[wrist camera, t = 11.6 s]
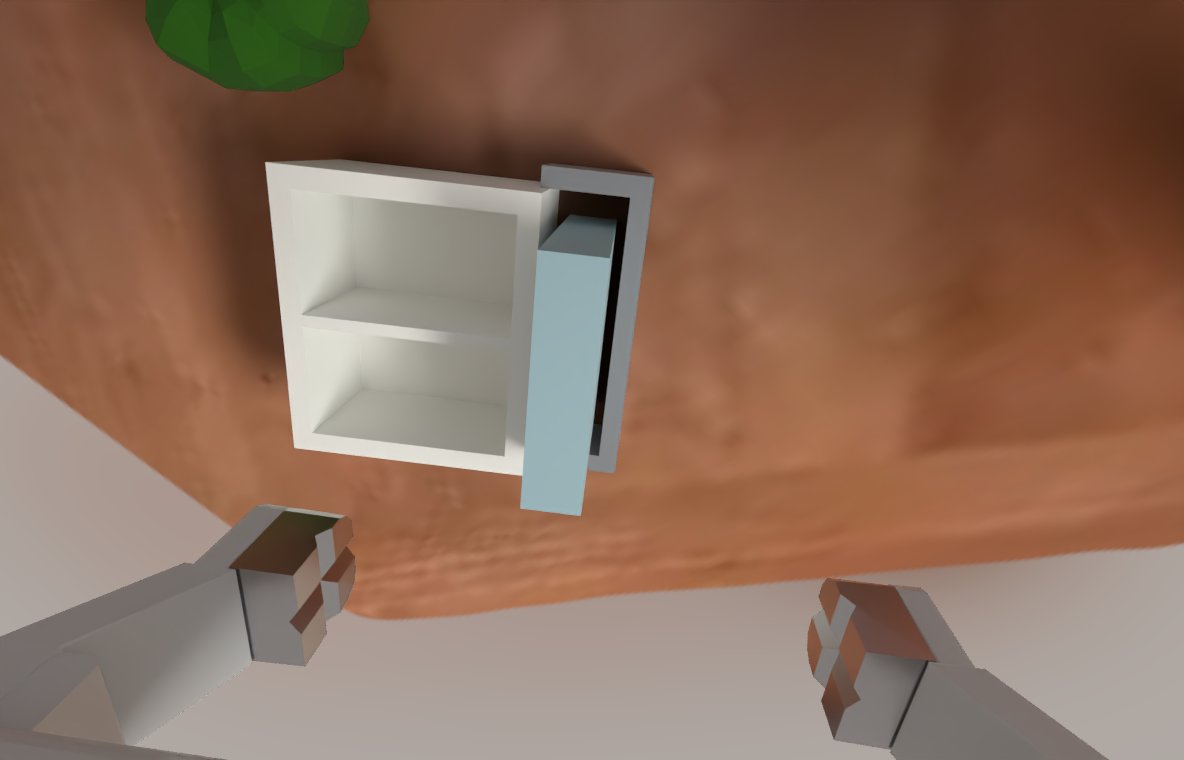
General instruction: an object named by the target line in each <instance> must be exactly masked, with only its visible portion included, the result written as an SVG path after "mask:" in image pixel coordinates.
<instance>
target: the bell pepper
mask: <svg viewBox="0 0 1184 760" xmlns="http://www.w3.org/2000/svg"><path fill="white" fill-rule="evenodd" d="M369 20H370V18H369V11H368V4H367V0H146V22H147V24H148V26H149V28H150V31H151V33H152V35H153V37H154V39H155V42H156V44H157V46H158V47H159V48H161V49H162V50H163V51H164V52H165V53H166V54H167V55H168V56H169V57H170V58H171V59H172V60H174V61H176V62H178V63H180V64H182V65H183V66H185V67H187V68H189V69H191V70H193V71H195V72H197V73H199V74H200V75H202V76H204V77H206V78H208V79H210V80H212V81H214V82H215V83H217V84H219V85H221V86H223V87H225V88H228V89H237V90H247V91H292V90H296V89H299V88H303V87H306V86H310V85H312V84H314V83H317V82H319V81H321V80H323V79H325V78H327V77H329V76H331V75H333V74H335V73H337V72H339V71H341V70H343V64H344V58H343V50H345V49H349V48H352V47H355V46H357V44H358V42H359V40H360V38H361V36H362V34H363V32H364V30H365V28H366V26H367V24H368V22H369Z"/></svg>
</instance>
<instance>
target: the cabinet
mask: <svg viewBox="0 0 1184 760" xmlns="http://www.w3.org/2000/svg"><path fill="white" fill-rule="evenodd" d="M265 165H266V175H267V185H268V194H269V204H270V214H271V224H272V233H273V243H274V253H275V262H276V272H277V282H278V292H279V301H280V311H281V321H282V331H283V340H284V350H285V360H286V370H287V379H288V389H289V399H290V409H291V418H292V428H293V438H294V448H300V449H308V450H316V451H324V452H333V453H341V454H349V455H357V456H365V457H373V458H382V459H390V460H398V461H406V462H414V463H423V464H431V465H439V466H447V467H455V468H464V469H472V470H480V471H488V472H496V473H505V474H513V475H521V476H523V461H524V446H525V431H526V416H527V401H528V386H529V371H530V355H531V340H532V325H533V310H534V295H535V280H536V265H537V250H538V249H539V248H540V247H541V246H542V245H543V243H544V242H545V241H546V240H547V239H548V238H549V237H550V236H551V235H552V234H553V233H554V231H555V230H556V229H557V220H558V207H559V194H560V190H567V191H576V192H585V193H594V194H603V195H612V196H621V197H630V200H629V208H628V217H627V225H626V233H625V241H624V250H623V258H622V266H621V274H620V282H619V291H618V299H617V307H616V315H615V324H614V332H613V340H612V348H611V357H610V365H609V373H608V381H607V390H606V398H605V406H604V414H603V423H602V425H601V424H593V429H592V437H591V444H590V451H589V459H588V466H587V470H590V471H598V472H606V473H615V467H616V459H617V452H618V444H619V437H620V430H621V422H622V415H623V407H624V400H625V393H626V385H627V378H628V370H629V363H630V356H631V348H632V341H633V333H634V326H635V319H636V311H637V304H638V296H639V289H640V281H641V274H642V267H643V259H644V252H645V244H646V237H647V230H648V222H649V215H650V207H651V200H652V193H653V185H654V176H653V175H652V174H646V173H637V172H628V171H619V170H610V169H601V168H592V167H583V166H574V165H565V164H556V163H550V164H545V165H542V169H541V182H539V181H530V180H522V179H513V178H504V177H495V176H486V175H477V174H468V173H459V172H450V171H441V170H432V169H423V168H414V167H405V166H396V165H388V164H379V163H370V162H361V161H352V160H343V159H334V160H308V161H282V162H265Z"/></svg>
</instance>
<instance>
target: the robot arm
mask: <svg viewBox="0 0 1184 760" xmlns="http://www.w3.org/2000/svg"><path fill="white" fill-rule="evenodd" d="M352 537H353V528H352V520H351V519H350V518H348V517H347V516H345V515H338V514H332V513H325V512H319V511H312V510H305V509H299V508H289V507H283V506H276V505H269V504H262V505H259V506H256V507H254V508H253V509H252V510H251V511H250V512H249V513H248V514H247V515H246V516H245V517H244V518H243V519H241V520H240V521H239V522H238V523H237V524H236V525H235V526H234V527H233V528H232V529H231V530H230V531H229V532H228V533H226V534H225V535H224V536H223V537H222V538H221V539H220V540H219V541H218V542H217V543H216V544H215V545H213V546H212V547H211V548H210V549H209V550H208V551H207V552H206V553H205V554H204V555H203V556H202V557H201V558H199V559H198V560H197V561H196V562H195V563H194V564H191V563H183V564H180V565H178V566H175V567H173V568H170V569H168V570H165V571H163V572H160V573H158V574H155V575H153V576H150V577H148V578H145V579H143V580H140V581H138V582H135V583H133V584H130V585H128V586H125V587H123V588H120V589H118V590H115V591H113V592H110V593H108V594H105V595H103V596H100V597H98V598H96V599H93V600H90V601H88V602H85V603H83V604H80V605H78V606H76V607H73V608H71V609H68V610H66V611H63V612H61V613H58V614H55V615H53V616H51V617H48V618H46V619H43V620H41V621H38V622H36V623H33V624H31V625H28V626H26V627H23V628H21V629H18V630H16V631H13V632H11V633H8V634H6V635H3V636H1V637H0V760H225V759H218V758H211V757H205V756H198V755H191V754H184V753H177V752H170V751H164V750H157V749H150V748H142V747H136V746H134V745H135V744H137V743H138V742H139V741H141V740H142V739H144V738H145V737H147V736H148V735H150V734H151V733H153V732H154V731H155V730H157V729H158V728H160V727H161V726H163V725H164V724H166V723H167V722H168V721H170V720H171V719H173V718H174V717H176V716H177V715H179V714H180V713H181V712H183V711H184V710H186V709H187V708H189V707H190V706H192V705H193V704H195V703H196V702H198V701H199V700H200V699H202V698H203V697H205V696H206V695H208V694H209V693H210V692H212V691H213V690H215V689H216V688H218V687H219V686H221V685H222V684H224V683H225V682H226V681H228V680H229V679H231V678H232V677H234V676H235V675H237V674H238V673H239V672H241V671H242V670H244V669H245V668H247V667H248V666H250V665H251V664H252V661H260V662H270V663H279V664H288V665H298V666H306V664H307V663H308V662H309V660H310V659H311V657H312V655H313V654H314V652H315V651H316V649H317V648H318V646H319V645H320V643H321V642H322V640H323V638H324V637H325V636H326V634H327V630H326V621H327V620H328V619H330V618H332V617H333V616H335V615H337V614H339V613H340V612H341V611H342V609H343V607H344V606H345V604H346V602H347V601H348V599H349V596H350V593H351V591H352V588H353V585H354V581H355V573H356V561H355V556H354V555H353V554H352V552H351V551H350V550H349V549H348V548H347V544H348V543H349V542H350V540H351V539H352ZM819 599H820V602H821V604H822V607H823V609H822V610H821V611H820V612H818V613H817V614H816V615H814V616H813V617H812V619H811V623H810V627H809V631H808V644H807V651H808V658H809V664H810V667H811V670H812V674H813V677H814V678H815V679H816V680H817V681H818V682H819V683H820V684H821V685H822V686H823V687H824V688H825V691H824V694H823V697H822V700H821V702H822V705H823V708H824V711H825V714H826V717H827V720H828V723H829V726H830V730H831V732H832V736H833V739H834V740H837V741H842V742H848V743H855V744H860V745H866V746H872V747H878V748H884V749H890V750H891V752H890V753H891V754H892V755H893V756H894V757H895V759H896V760H1108V759H1107V758H1105V757H1104V756H1103V755H1101V754H1100V753H1099V752H1097V751H1096V750H1095V749H1093V748H1092V747H1091V746H1089V745H1088V744H1087V743H1085V742H1084V741H1082V740H1081V739H1080V738H1078V737H1077V736H1076V735H1074V734H1073V733H1072V732H1070V731H1069V730H1068V729H1066V728H1065V727H1063V726H1062V725H1061V724H1059V723H1058V722H1056V721H1055V720H1054V719H1052V718H1051V717H1050V716H1048V715H1047V714H1046V713H1044V712H1043V711H1042V710H1040V709H1039V708H1037V707H1036V706H1035V705H1033V704H1032V703H1031V702H1029V701H1028V700H1026V699H1025V698H1024V697H1022V696H1021V695H1020V694H1018V693H1017V692H1016V691H1014V690H1013V689H1012V688H1010V687H1009V686H1007V685H1006V684H1005V683H1003V682H1002V681H1000V680H999V679H998V678H997V677H995V676H994V675H992V674H991V673H990V672H988V671H987V670H985V669H979V668H975V667H974V665H973V664H972V662H971V661H970V659H969V658H968V656H967V654H966V653H965V651H964V650H963V648H962V646H961V645H960V643H959V642H958V640H957V639H956V637H955V636H954V634H953V632H952V631H951V629H950V628H949V626H948V625H947V623H946V621H945V620H944V619H943V617H942V615H941V614H940V612H939V611H938V609H937V607H936V606H935V604H934V603H933V601H932V600H931V598H930V597H929V595H928V593H927V592H925V591H924V590H923V589H921V588H918V587H908V586H899V585H882V584H874V583H865V582H856V581H849V580H841V579H833V578H827V579H826V580H825V582H824V583H823V585H822V587H821V590H820V594H819Z"/></svg>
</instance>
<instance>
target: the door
mask: <svg viewBox="0 0 1184 760" xmlns="http://www.w3.org/2000/svg"><path fill="white" fill-rule="evenodd" d="M616 226H617V220H615V219H606V218H597V217H589V216H580V215H571V214H570V215H569V216H568V217H567V218H566V219H565V221H564V222H563V223H562V224H561V225H560V226H559V227H558V228H557V229H556V230H555V231H554V233H553V234H552V235H551V236H550V237H549V238H548V239H547V240H546V241H545V242H544V243H543V245H542V246H541V247H540V248H539V249H538V250H537V265H536V280H535V295H534V310H533V325H532V340H531V355H530V371H529V386H528V401H527V416H526V431H525V446H524V461H523V476H522V491H521V506H520V508H521V509H529V510H537V511H545V512H553V513H561V514H569V515H578V516H581V510H582V503H583V495H584V488H585V481H586V473H587V466H588V459H589V451H590V444H591V437H592V429H593V422H594V415H595V407H596V400H597V391H598V382H599V374H600V365H601V356H602V348H603V339H604V330H605V322H606V313H607V304H608V296H609V287H610V278H611V270H612V261H613V252H614V244H615V235H616Z"/></svg>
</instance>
